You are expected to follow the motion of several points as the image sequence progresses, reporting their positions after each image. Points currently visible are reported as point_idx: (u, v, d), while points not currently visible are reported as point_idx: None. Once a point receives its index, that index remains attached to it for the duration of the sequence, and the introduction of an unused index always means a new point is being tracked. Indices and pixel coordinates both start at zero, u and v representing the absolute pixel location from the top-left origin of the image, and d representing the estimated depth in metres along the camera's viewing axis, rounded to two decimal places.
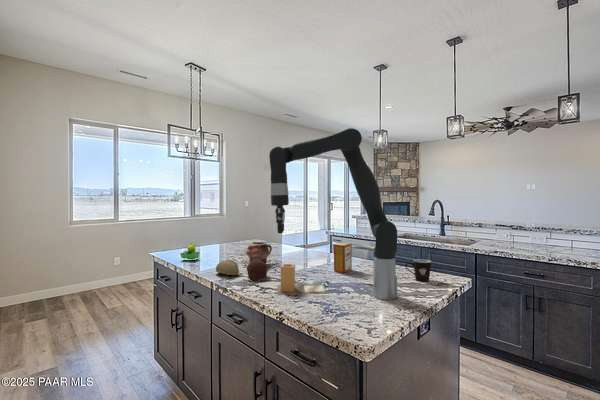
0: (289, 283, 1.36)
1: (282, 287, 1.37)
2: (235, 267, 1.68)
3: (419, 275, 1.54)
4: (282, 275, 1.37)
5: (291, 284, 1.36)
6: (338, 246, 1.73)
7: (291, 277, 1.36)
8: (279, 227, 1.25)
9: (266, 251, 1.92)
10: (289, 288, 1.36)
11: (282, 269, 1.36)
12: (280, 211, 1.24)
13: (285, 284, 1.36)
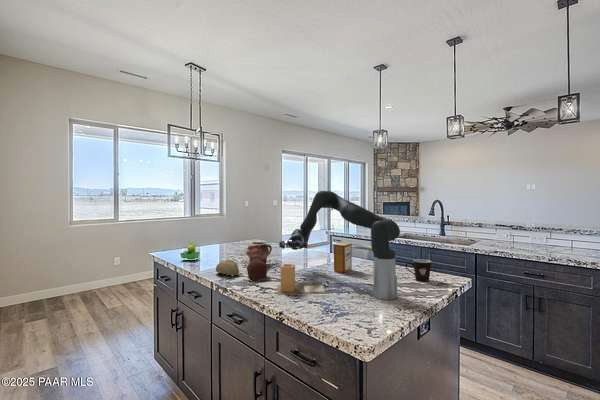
0: (289, 283, 1.36)
1: (282, 287, 1.37)
2: (235, 267, 1.68)
3: (419, 275, 1.54)
4: (282, 275, 1.37)
5: (291, 284, 1.36)
6: (338, 246, 1.74)
7: (291, 277, 1.36)
8: None
9: (266, 251, 1.92)
10: (289, 288, 1.36)
11: (282, 269, 1.36)
12: None
13: (285, 284, 1.36)
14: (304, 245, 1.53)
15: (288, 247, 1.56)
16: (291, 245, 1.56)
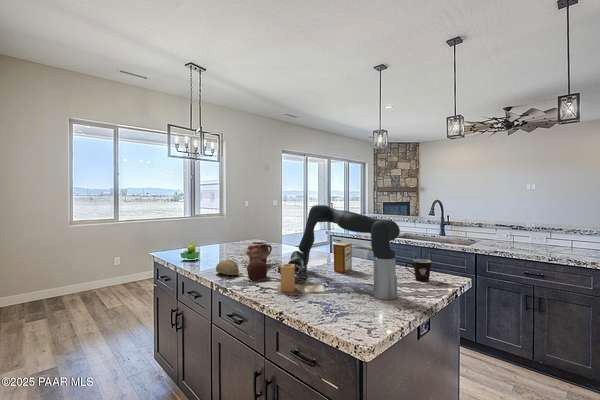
0: (289, 283, 1.36)
1: (282, 287, 1.37)
2: (235, 267, 1.68)
3: (419, 275, 1.54)
4: (282, 275, 1.37)
5: (291, 284, 1.36)
6: (338, 246, 1.73)
7: (291, 277, 1.36)
8: None
9: (266, 251, 1.92)
10: (289, 288, 1.36)
11: (282, 269, 1.36)
12: None
13: (285, 284, 1.36)
14: (303, 270, 1.48)
15: None
16: None
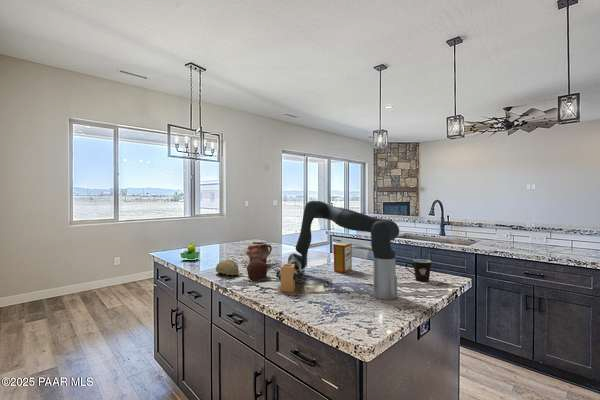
0: (289, 283, 1.36)
1: (282, 287, 1.37)
2: (235, 267, 1.68)
3: (419, 275, 1.54)
4: (282, 275, 1.37)
5: (291, 284, 1.36)
6: (338, 246, 1.74)
7: (291, 277, 1.36)
8: None
9: (266, 251, 1.92)
10: (289, 288, 1.36)
11: (282, 269, 1.36)
12: (276, 271, 1.46)
13: (285, 284, 1.36)
14: (298, 275, 1.40)
15: None
16: None
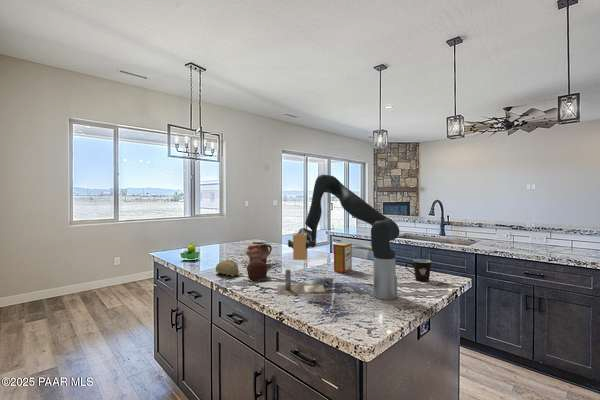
0: (302, 251, 1.36)
1: (295, 255, 1.36)
2: (235, 267, 1.68)
3: (419, 275, 1.54)
4: (294, 243, 1.36)
5: (304, 252, 1.36)
6: (338, 246, 1.73)
7: (304, 245, 1.35)
8: None
9: (266, 251, 1.92)
10: (302, 256, 1.36)
11: (294, 237, 1.36)
12: (288, 241, 1.46)
13: (298, 252, 1.36)
14: (310, 244, 1.40)
15: None
16: None
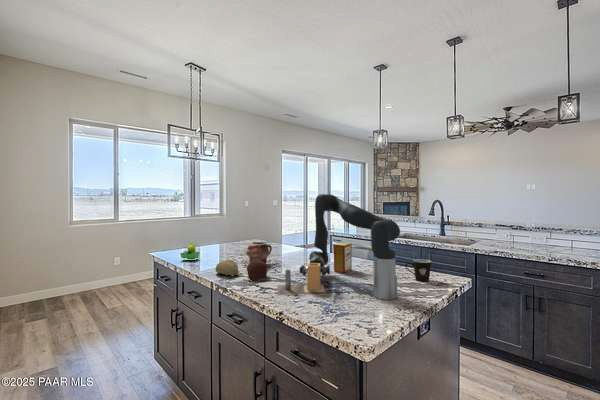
0: (316, 282, 1.37)
1: (309, 286, 1.37)
2: (235, 267, 1.68)
3: (419, 275, 1.54)
4: (309, 274, 1.37)
5: (318, 283, 1.37)
6: (338, 246, 1.74)
7: (318, 276, 1.37)
8: None
9: (266, 251, 1.92)
10: (316, 287, 1.37)
11: (309, 268, 1.37)
12: (301, 267, 1.47)
13: (312, 283, 1.37)
14: (327, 271, 1.41)
15: None
16: None
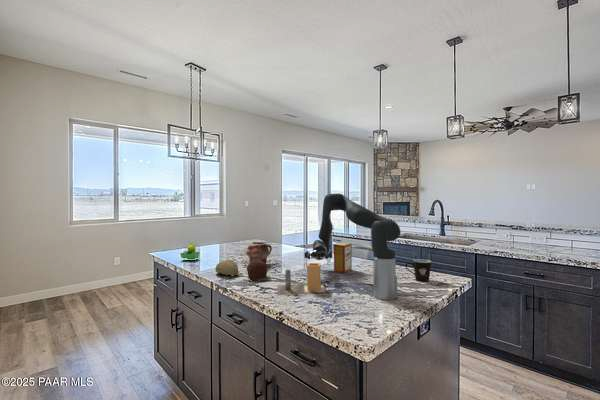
0: (316, 282, 1.37)
1: (309, 286, 1.37)
2: (234, 267, 1.68)
3: (419, 275, 1.54)
4: (309, 274, 1.37)
5: (318, 283, 1.37)
6: (338, 246, 1.74)
7: (318, 276, 1.37)
8: None
9: (266, 251, 1.92)
10: (316, 287, 1.37)
11: (309, 268, 1.37)
12: None
13: (312, 283, 1.37)
14: (329, 255, 1.54)
15: (313, 257, 1.57)
16: (316, 255, 1.57)
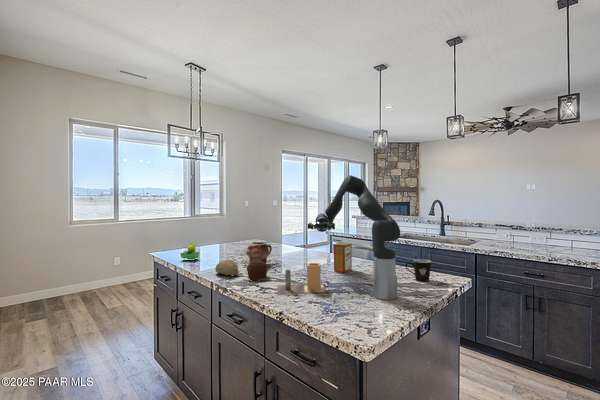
0: (316, 282, 1.37)
1: (309, 286, 1.37)
2: (234, 267, 1.68)
3: (419, 275, 1.54)
4: (309, 274, 1.37)
5: (318, 283, 1.37)
6: (338, 246, 1.73)
7: (318, 276, 1.37)
8: None
9: (266, 251, 1.92)
10: (316, 287, 1.37)
11: (309, 268, 1.37)
12: None
13: (312, 283, 1.37)
14: (332, 226, 1.57)
15: (316, 228, 1.60)
16: (319, 226, 1.60)
